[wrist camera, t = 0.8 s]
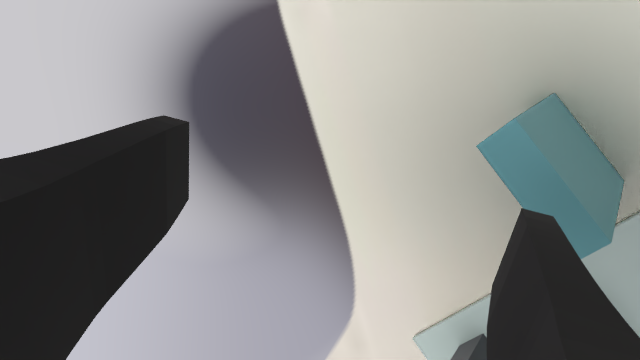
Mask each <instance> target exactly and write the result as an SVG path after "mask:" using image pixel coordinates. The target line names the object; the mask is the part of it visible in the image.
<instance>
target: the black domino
mask: <svg viewBox="0 0 640 360" xmlns="http://www.w3.org/2000/svg"><path fill="white" fill-rule="evenodd" d="M451 360H487V338H486V336H485V335H484V334H481V335H479V336H477V337H475V338H473V339H471V340H469V341H467V342H465V343H463V344H461V345H459V347H458V348H457V350H456V352H455V353H454V355H453V357H452V358H451Z"/></svg>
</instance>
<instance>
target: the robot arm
mask: <svg viewBox="0 0 640 360" xmlns="http://www.w3.org/2000/svg"><path fill="white" fill-rule="evenodd" d="M188 197H189V122H187V121H183V120H179V119H175V118H171V117H168V116H159V117H154V118H150V119H146V120H142V121H139V122H136V123H132V124H129V125H125V126H122V127H119V128H116V129H113V130H109V131H106V132H103V133H100V134H96V135H93V136H90V137H87V138H84V139H80V140H76V141H73V142H69V143H65V144H62V145H58V146H54V147H50V148H47V149H43V150H39V151H36V152H31V153H27V154H23V155H18V156H13V157H9V158H3V159H0V360H66V358H67V357H68V355H69V354H70V352H71V351H72V349H73V348H74V347H75V345H76V343H77V342H78V341H79V339H80V338H81V337H82V335H83V334H84V332H85V331H86V329H87V328H88V326H89V325H90V324H91V322H92V321H93V319H94V318H95V317H96V315H97V314H98V313H99V312H100V310H101V309H102V307H104V305H105V304H106V303H107V302H108V300H109V299H110V298H111V297H112V296H113V295H114V294H115V292H116V291H117V290H118V289H119V288H120V287H121V286H122V284H123V283H124V282H125V281H126V280H127V279H128V278H129V276H130V275H131V274H132V273H133V272H134V271H135V270H136V268H137V267H138V266H139V265H140V264H141V263H142V262H143V260H144V259H145V258H146V257H147V256H148V255H149V254H150V252H151V251H152V250H153V249H154V248H155V247H156V245H157V244H158V243H159V242H160V241H161V240H162V238H163V237H164V236H165V235H166V234H167V232H168V231H169V229H170V228H171V226H172V225H173V223H174V222H175V220H176V219H177V217H178V215H179V214H180V212H181V211H182V209H183V207H184V206H185V204H186V202H187V201H188V199H189V198H188ZM487 360H640V337H639V336H638V335H637V334H636V333H635V331H634V330H633V329H632V328H631V327H630V326H629V324H628V323H627V322H626V321H625V319H624V318H623V317H622V316H621V314H620V313H619V312H618V311H617V309H616V308H615V307H614V305H613V304H612V303H611V302H610V300H609V299H608V298H607V296H606V295H605V294H604V292H603V291H602V290H601V288H600V287H599V285H598V284H597V283H596V281H595V280H594V278H593V277H592V275H591V274H590V272H589V271H588V270H587V268H586V267H585V265H584V264H583V262H582V261H581V259H580V257H579V256H578V254H577V253H576V251H575V250H574V248H573V246H572V245H571V243H570V242H569V240H568V239H567V237H566V235H565V234H564V232H563V230H562V229H561V227H560V226H559V224H558V222H557V221H556V219H555V218H554V217H553V216H550V215H546V214H543V213H539V212H535V211H531V210H527V209H523V208H522V209H521V212H520V214H519V217H518V219H517V222H516V225H515V227H514V230H513V232H512V235H511V238H510V240H509V243H508V246H507V248H506V251H505V253H504V256H503V259H502V261H501V264H500V266H499V269H498V272H497V274H496V277H495V280H494V282H493V285H492V291H491V298H490V305H489V313H488V321H487Z"/></svg>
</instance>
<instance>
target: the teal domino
mask: <svg viewBox="0 0 640 360" xmlns="http://www.w3.org/2000/svg"><path fill="white" fill-rule="evenodd" d="M476 147H477V148H478V149H479V150H480V152H481V153H482V154H483V156H484V157H485V158H486V160H487V161H488V162H489V164H490V165H491V166H492V168H493V169H494V170H495V172H496V173H497V174H498V176H499V177H500V178H501V180H502V181H503V182H504V183H505V185H506V186H507V187H508V189H509V190H510V191H511V193H512V194H513V195H514V197H515V198H516V199H517V201H518V202H519V203H520V205H521V206H522V207H523V209H527V210H531V211H535V212H539V213H543V214H546V215H550V216H553V217H554V218H555V219H556V221H557V222H558V224H559V226H560V227H561V229H562V230H563V232H564V234H565V235H566V237H567V239H568V240H569V242H570V243H571V245H572V246H573V248H574V250H575V251H576V253H577V254H578V256H579V257H580V259H583V258H584V257H586V256H588V255H590V254H592V253H594V252H596V251H597V250H599V249H601V248H603V247H605V246H607V245H609V244H611V243H612V238H613V233H614V228H615V223H616V218H617V214H618V209H619V204H620V199H621V194H622V189H623V184H624V180H623V179H622V177H621V176H620V175H619V174H618V172H617V171H616V170H615V169H614V167H613V166H612V165H611V163H610V162H609V161H608V160H607V158H606V157H605V156H604V155H603V153H602V152H601V151H600V150H599V148H598V147H597V146H596V144H595V143H594V142H593V141H592V139H591V138H590V137H589V136H588V134H587V133H586V132H585V130H584V129H583V128H582V127H581V125H580V124H579V123H578V122H577V120H576V119H575V118H574V116H573V115H572V114H571V113H570V111H569V110H568V109H567V108H566V106H565V105H564V104H563V103H562V101H561V100H560V99H559V97H558V96H557V95H556V94H555V93H553V94H552V95H550V96H549V97H547V98H545V99H544V100H542V101H541V102H539V103H538V104H536V105H535V106H533V107H531V108H530V109H528V110H527V111H525V112H524V113H522V114H520V115H519V116H517V117H516V118H514V119H513V120H511V121H510V122H509V123H507V124H506V125H505V126H503V127H502V128H500V129H499V130H498V131H496V132H495V133H493V134H492V135H491V136H489V137H488V138H486V139H485V140H484V141H482V142H481V143H480V144H478V145H477V146H476Z"/></svg>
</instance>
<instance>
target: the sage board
mask: <svg viewBox="0 0 640 360" xmlns="http://www.w3.org/2000/svg"><path fill="white" fill-rule="evenodd" d="M581 261H582V262H583V264H584V265H585V267H586V268H587V270H588V271H589V272H590V274H591V275H592V277H593V278H594V280H595V281H596V283H597V284H598V285H599V287H600V288H601V290H602V291H603V292H604V294H605V295H606V296H607V298H608V299H609V300H610V302H611V303H612V304H613V305H614V307H615V308H616V309H617V311H618V312H619V313H620V314H621V316H622V317H623V318H624V319H625V321H626V322H627V323H628V324H629V326H630V327H631V328H632V329H633V330H634V331H635V333H636V334H637V335H638V336H639V337H640V212H638V213H636V214H635V215H633V216H631V217H629V218H627V219H625V220H624V221H622V222H620V223H618V224H616V225H615V228H614V233H613V238H612V243H611V244H609V245H607V246H605V247H603V248H601V249H599V250H597V251H596V252H594V253H592V254H590V255H588V256H586V257H584V258H583V259H581ZM490 298H491V294H489V295H487V296H486V297H484V298H482V299H480V300H478V301H477V302H475V303H473V304H471V305H469V306H468V307H466V308H464V309H462V310H460V311H458V312H457V313H455V314H453V315H451V316H449V317H448V318H446V319H444V320H442V321H440V322H438V323H437V324H435V325H433V326H431V327H429V328H428V329H426V330H424V331H422V332H420V333H418V334H417V335H415V336H414V337H413V340H414V342H415V343H416V344H417V346H418V347H419V349H420V350H421V351H422V353H423V354H424V356H425V357H426V359H427V360H451V358H452V357H453V355H454V353H455V352H456V350H457V348H458V347H459V345H461V344H463V343H465V342H467V341H469V340H471V339H473V338H475V337H477V336H479V335H481V334H484V335H485V336H486V338H487V321H488V313H489V305H490Z"/></svg>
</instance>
